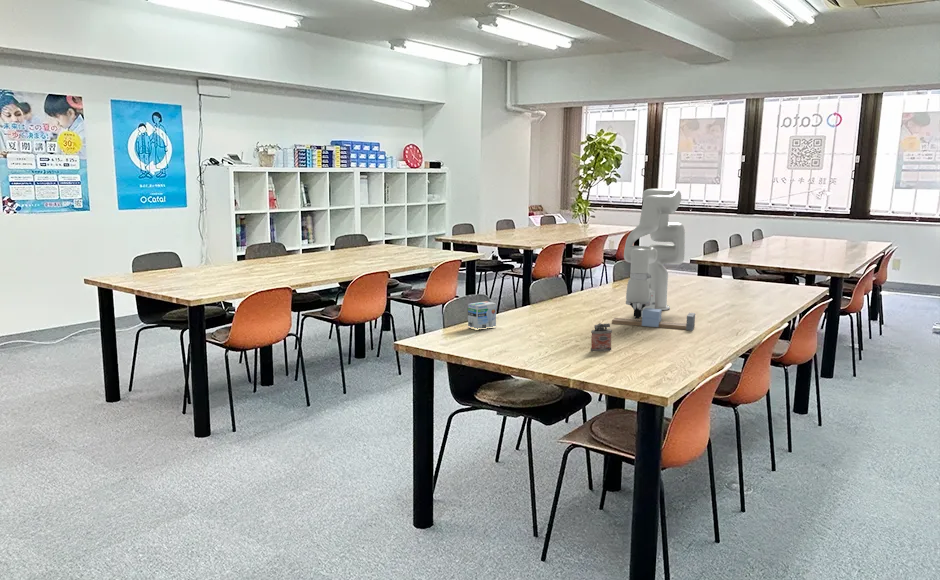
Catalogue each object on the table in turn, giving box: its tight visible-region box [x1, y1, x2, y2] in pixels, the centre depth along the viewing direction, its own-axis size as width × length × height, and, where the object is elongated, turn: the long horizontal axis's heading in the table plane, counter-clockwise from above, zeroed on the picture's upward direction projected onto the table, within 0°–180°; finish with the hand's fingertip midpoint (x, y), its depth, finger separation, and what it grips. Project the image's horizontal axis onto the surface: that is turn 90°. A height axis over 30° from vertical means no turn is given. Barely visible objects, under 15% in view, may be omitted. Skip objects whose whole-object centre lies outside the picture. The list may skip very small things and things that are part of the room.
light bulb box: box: [467, 300, 497, 329], centre depth 297 cm, size 11×7×11 cm, turn 129°
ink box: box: [637, 291, 655, 318], centre depth 325 cm, size 9×5×12 cm, turn 84°
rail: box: [611, 312, 696, 332], centre depth 305 cm, size 8×34×6 cm, turn 67°
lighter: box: [590, 323, 613, 352], centre depth 259 cm, size 8×3×10 cm, turn 106°
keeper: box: [641, 308, 663, 328], centre depth 305 cm, size 8×7×6 cm
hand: (637, 318), depth 307 cm, fingers closed
